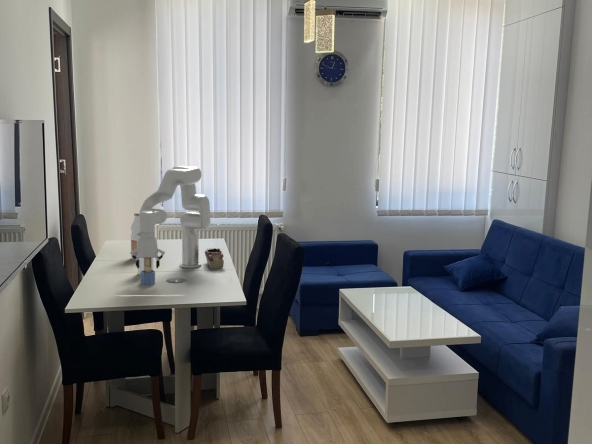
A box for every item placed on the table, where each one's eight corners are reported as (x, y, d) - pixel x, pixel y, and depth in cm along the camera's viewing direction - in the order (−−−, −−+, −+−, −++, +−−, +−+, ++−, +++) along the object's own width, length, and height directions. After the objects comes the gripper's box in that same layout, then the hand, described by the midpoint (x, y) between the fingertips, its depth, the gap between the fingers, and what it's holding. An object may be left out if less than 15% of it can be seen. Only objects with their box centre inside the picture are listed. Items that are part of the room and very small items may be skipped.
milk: (137, 275, 336) (136, 235, 332) (144, 272, 342) (143, 233, 338) (146, 276, 334) (145, 236, 330) (153, 274, 339) (152, 235, 335)
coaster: (166, 279, 330) (166, 277, 329) (187, 279, 331) (187, 277, 331) (164, 284, 319) (164, 283, 319) (186, 284, 320) (186, 283, 320)
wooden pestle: (145, 282, 320) (144, 248, 317) (152, 282, 320) (151, 248, 317) (144, 284, 316) (143, 249, 313) (151, 284, 317) (150, 249, 314)
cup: (142, 282, 322) (141, 269, 320) (156, 282, 322) (155, 269, 321) (140, 286, 314) (139, 273, 313) (154, 286, 315) (154, 273, 314)
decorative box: (200, 270, 351) (200, 253, 350) (199, 261, 371) (199, 246, 369) (223, 269, 354) (224, 253, 352) (221, 261, 373) (221, 245, 371)
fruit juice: (135, 261, 368) (134, 214, 364) (128, 258, 375) (127, 212, 371) (149, 259, 374) (149, 213, 369) (143, 256, 381) (142, 211, 377)
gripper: (128, 236, 309) (129, 269, 312) (163, 236, 311) (164, 269, 314) (131, 233, 317) (131, 266, 320) (165, 233, 319) (165, 266, 321)
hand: (147, 267), depth 317 cm, fingers open, 9 cm apart
